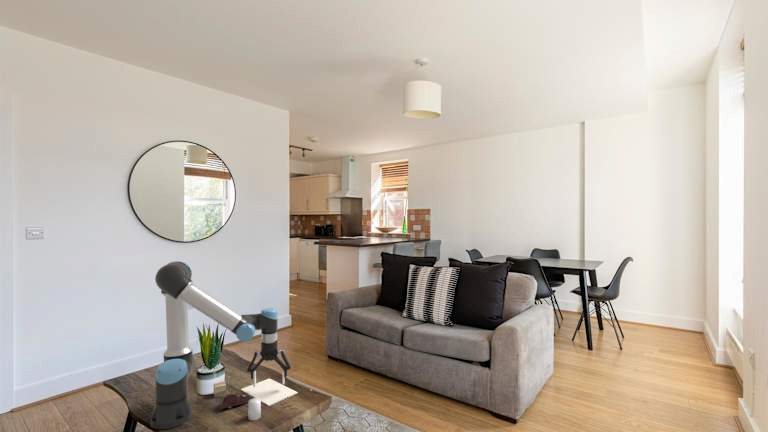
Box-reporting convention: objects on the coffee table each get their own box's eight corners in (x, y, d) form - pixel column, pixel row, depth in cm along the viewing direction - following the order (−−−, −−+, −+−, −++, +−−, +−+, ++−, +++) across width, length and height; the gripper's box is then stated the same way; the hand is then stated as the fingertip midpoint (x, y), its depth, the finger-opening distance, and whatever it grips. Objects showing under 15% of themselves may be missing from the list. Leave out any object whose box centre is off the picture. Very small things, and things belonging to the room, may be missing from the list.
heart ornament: (219, 415, 166) (225, 393, 175) (247, 416, 168) (252, 394, 178) (219, 406, 163) (225, 384, 172) (248, 407, 165) (252, 385, 174)
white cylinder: (258, 420, 158) (258, 403, 157) (246, 420, 158) (246, 403, 158) (262, 414, 163) (262, 397, 162) (250, 414, 163) (250, 397, 163)
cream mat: (297, 393, 182) (297, 392, 182) (268, 406, 169) (268, 405, 169) (269, 379, 197) (269, 378, 197) (240, 390, 185) (240, 389, 185)
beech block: (225, 395, 180) (226, 385, 180) (214, 397, 177) (214, 387, 177) (224, 391, 184) (224, 381, 184) (213, 393, 182) (213, 383, 182)
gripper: (296, 337, 189) (296, 379, 189) (244, 339, 185) (243, 382, 185) (295, 342, 181) (294, 386, 181) (240, 344, 177) (240, 389, 177)
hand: (269, 384), depth 183 cm, fingers open, 13 cm apart
